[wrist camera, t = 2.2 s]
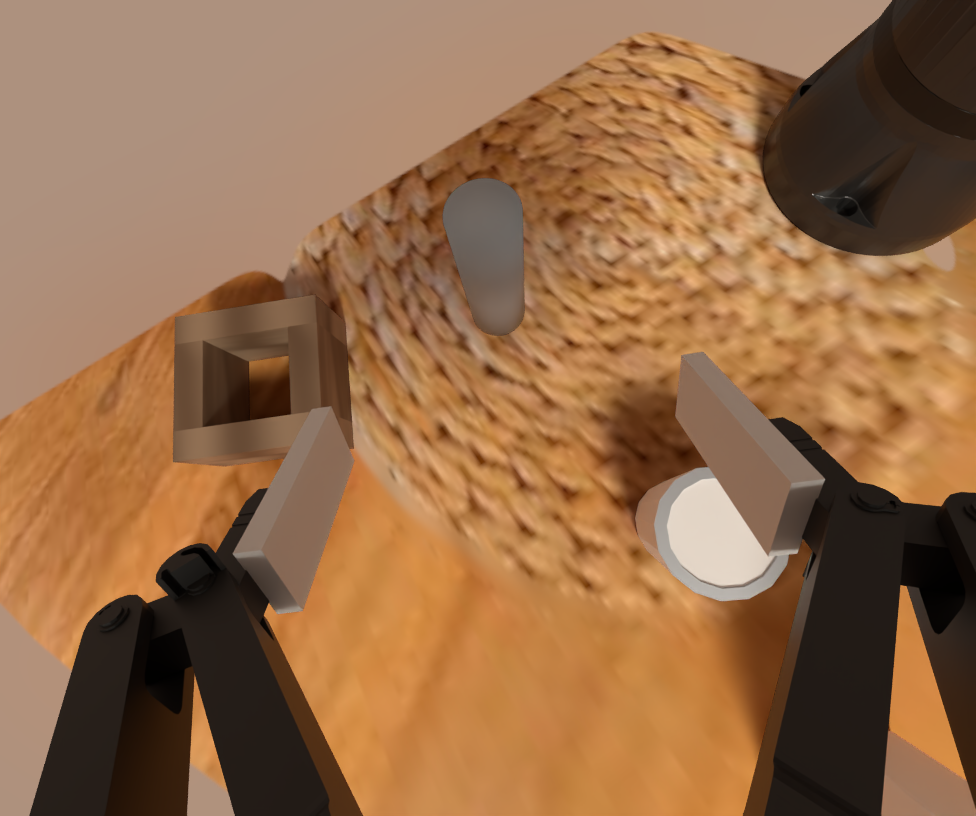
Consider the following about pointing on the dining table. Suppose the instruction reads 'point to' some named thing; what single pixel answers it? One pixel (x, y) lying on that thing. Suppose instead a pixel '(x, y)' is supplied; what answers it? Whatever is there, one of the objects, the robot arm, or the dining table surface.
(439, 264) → the dining table surface
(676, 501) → the grey and white cylinder
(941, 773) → the milk
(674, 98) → the dining table surface
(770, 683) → the dining table surface
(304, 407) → the socket
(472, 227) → the grey cylinder
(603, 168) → the dining table surface
